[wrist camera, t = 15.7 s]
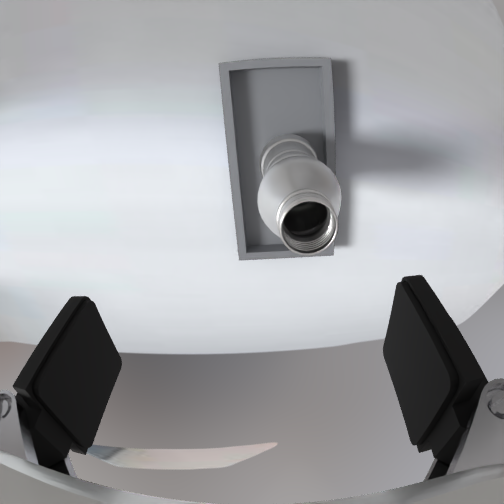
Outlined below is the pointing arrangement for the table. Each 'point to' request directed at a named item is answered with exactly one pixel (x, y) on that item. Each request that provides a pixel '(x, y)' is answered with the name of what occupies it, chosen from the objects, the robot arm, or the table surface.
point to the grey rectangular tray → (272, 134)
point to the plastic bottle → (298, 195)
